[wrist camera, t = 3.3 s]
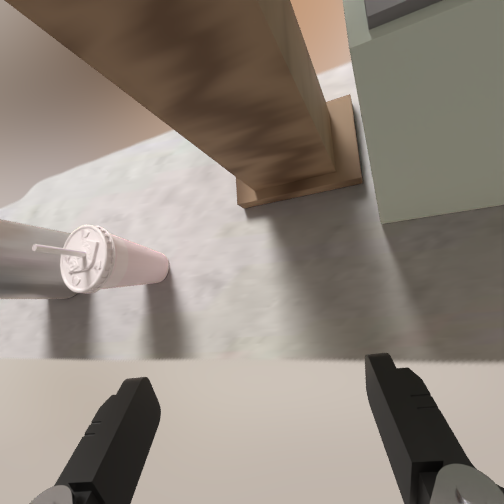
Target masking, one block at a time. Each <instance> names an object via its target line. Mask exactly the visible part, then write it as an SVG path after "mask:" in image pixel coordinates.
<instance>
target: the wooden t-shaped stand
mask: <svg viewBox="0 0 504 504" xmlns="http://www.w3.org/2000/svg"><path fill="white" fill-rule="evenodd" d="M5 1H6V2H7V3H9V4H10V5H11V6H13V7H14V8H15V9H17V10H18V11H19V12H21V13H22V14H23V15H24V16H26V17H27V18H28V19H30V20H31V21H32V22H34V23H35V24H36V25H37V26H39V27H40V28H42V29H43V30H44V31H46V32H47V33H48V34H49V35H51V36H52V37H53V38H55V39H56V40H57V41H58V42H60V43H61V44H62V45H64V46H65V47H66V48H68V49H69V50H70V51H72V52H73V53H74V54H76V55H77V56H78V57H79V58H81V59H82V60H84V61H85V62H86V63H87V64H89V65H90V66H91V67H93V68H94V69H95V70H97V71H98V72H99V73H101V74H102V75H103V76H105V77H106V78H107V79H108V80H110V81H111V82H113V83H114V84H115V85H116V86H118V87H119V88H120V89H121V90H123V91H124V92H126V93H127V94H128V95H129V96H131V97H132V98H134V99H135V100H136V101H137V102H138V103H140V104H141V105H142V106H144V107H145V108H146V109H148V110H149V111H151V112H152V113H153V114H154V115H156V116H157V117H158V118H159V119H161V120H162V121H163V122H165V123H166V124H168V125H169V126H170V127H171V128H173V129H174V130H175V131H177V132H178V133H179V134H180V135H182V136H183V137H184V138H186V139H187V140H188V141H190V142H191V143H192V144H194V145H195V146H196V147H198V148H199V149H200V150H201V151H203V152H204V153H205V154H207V155H208V156H209V157H211V158H212V159H213V160H215V161H216V162H217V163H219V164H220V165H221V166H222V167H224V168H225V169H226V170H228V171H229V172H230V173H232V174H233V175H234V176H236V187H237V205H239V206H241V207H242V208H249V207H253V206H258V205H263V204H267V203H272V202H277V201H282V200H286V199H291V198H296V197H300V196H305V195H310V194H314V193H319V192H324V191H329V190H333V189H338V188H343V187H347V186H352V185H357V184H362V183H363V180H362V172H361V165H360V158H359V150H358V143H357V136H356V128H355V121H354V114H353V106H352V101H351V96H350V94H349V95H346V96H343V97H340V98H337V99H334V100H331V101H328V102H326V101H325V99H324V96H323V93H322V90H321V87H320V84H319V81H318V79H317V76H316V73H315V70H314V67H313V65H312V61H311V59H310V56H309V53H308V50H307V47H306V44H305V42H304V39H303V36H302V33H301V30H300V27H299V25H298V22H297V19H296V16H295V13H294V10H293V7H292V4H291V2H290V0H5Z"/></svg>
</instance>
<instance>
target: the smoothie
mask: <svg viewBox="0 0 504 504" xmlns="http://www.w3.org/2000/svg"><path fill="white" fill-rule="evenodd" d="M32 250H33V251H37V252H45V253H53V254H61V259H60V269H61V275H62V278H63V281H64V283H65V284H66V286H67V287H68V288H69V289H70V290H71V291H73V292H76V293H85V294H91V293H94V292H97V291H98V290H100V289H108V288H116V287H125V286H134V285H143V284H152V283H159V282H161V281H163V280H164V279H165V277H166V276H167V274H168V271H169V262H168V259H167V257H166V256H165V255H164V254H163V253H160V252H158V251H155V250H152V249H150V248H147V247H144V246H142V245H139V244H137V243H134V242H131V241H129V240H126V239H123V238H121V237H118V236H116V235H113V234H110V233H109V232H108V231H107V230H106V229H104V228H102V227H100V226H93V225H83V226H80V227H78V228H77V229H75V230H74V231H73V232H72V233H71V234H70V236H69V237H68V239H67V240H66V242H65V244H64V247H63V248H59V247H52V246H45V245H38V244H34V245H33V247H32Z"/></svg>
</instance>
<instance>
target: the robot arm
mask: <svg viewBox="0 0 504 504" xmlns="http://www.w3.org/2000/svg"><path fill="white" fill-rule="evenodd" d="M70 234H71V233H66V232H61V231H56V230H51V229H47V228H42V227H36V226H31V225H26V224H21V223H16V222H11V221H6V220H1V219H0V299H68V298H71V297H73V296H74V295H76V294H77V293H76V292H73V291H71V290H70V289H69V288H68V287H67V286H66V284H65V283H64V281H63V278H62V275H61V269H60V259H61V254H53V253H45V252H37V251H33V250H32V247H33V245H34V244H38V245H45V246H52V247H59V248H63V247H64V244H65V242H66V240H67V239H68V237H69V236H70ZM365 369H366V370H365V372H366V390H367V396H368V400H369V404H370V407H371V410H372V413H373V415H374V418H375V421H376V424H377V427H378V429H379V433H380V436H381V438H382V441H383V444H384V447H385V450H386V452H387V456H388V458H389V461H390V464H391V467H392V470H393V473H394V475H395V478H396V481H397V484H398V487H399V490H400V493H401V495H402V498H403V501H404V504H504V488H503V487H500V486H499V485H497V484H495V483H494V482H493V481H492V480H491V479H490V478H489V477H488V476H486V475H485V474H483V473H482V472H480V471H479V470H477V469H476V468H475V467H474V466H473V465H472V463H471V462H470V460H469V459H468V457H467V456H466V454H465V453H464V451H463V449H462V447H461V446H460V444H459V442H458V440H457V439H456V437H455V435H454V433H453V432H452V430H451V428H450V427H449V425H448V423H447V422H446V420H445V418H444V416H443V415H442V413H441V411H440V410H439V409H438V406H437V404H436V403H435V401H434V399H433V398H432V397H431V395H430V392H429V391H428V389H427V387H426V385H425V384H424V382H423V380H422V379H421V378H420V377H419V376H417V375H416V374H415V373H414V372H413V371H412V370H410V369H409V368H396V367H395V364H394V362H393V360H392V358H391V356H390V355H389V354H388V353H382V354H371V355H366V356H365ZM160 415H161V409H160V405H159V402H158V399H157V397H156V395H155V392H154V390H153V388H152V385H151V383H150V381H149V379H148V378H147V377H141V378H131V379H126V380H125V381H124V382H123V383H122V385H121V387H120V389H119V391H118V392H117V394H116V395H112V396H111V397H110V398H109V399H108V400H107V401H106V402H105V403H104V404H103V405H102V406H101V407H100V408H99V410H98V412H97V413H96V415H95V417H94V418H93V420H92V424H91V425H89V427H88V429H87V431H86V432H85V436H84V437H82V439H81V441H80V442H79V444H78V446H77V448H76V449H75V451H74V453H73V455H72V456H71V458H70V460H69V461H68V463H67V465H66V467H65V468H64V470H63V472H62V473H61V475H60V477H59V479H58V480H57V482H56V484H55V485H54V486H53V487H51V488H49V489H47V490H45V491H44V492H42V493H41V494H39V495H38V496H37V497H36V498H35V499H34V500H33V501H32V502H31V503H30V504H130V503H131V500H132V498H133V495H134V492H135V489H136V486H137V484H138V481H139V478H140V475H141V472H142V470H143V467H144V464H145V461H146V458H147V456H148V453H149V450H150V447H151V445H152V442H153V439H154V436H155V433H156V430H157V428H158V425H159V422H160Z"/></svg>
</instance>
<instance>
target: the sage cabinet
mask: <svg viewBox="0 0 504 504" xmlns="http://www.w3.org/2000/svg"><path fill="white" fill-rule="evenodd" d="M343 6H344V14H345V21H346V28H347V35H348V42H349V49H350V55H351V60H352V66H353V72H354V77H355V83H356V88H357V94H358V99H359V105H360V110H361V116H362V121H363V127H364V132H365V138H366V143H367V149H368V155H369V160H370V166H371V171H372V177H373V182H374V188H375V193H376V199H377V204H378V210H379V215H380V221H381V224H385V223H392V222H398V221H404V220H411V219H417V218H423V217H430V216H436V215H443V214H449V213H455V212H462V211H468V210H474V209H481V208H487V207H493V206H500V205H504V0H343Z"/></svg>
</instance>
